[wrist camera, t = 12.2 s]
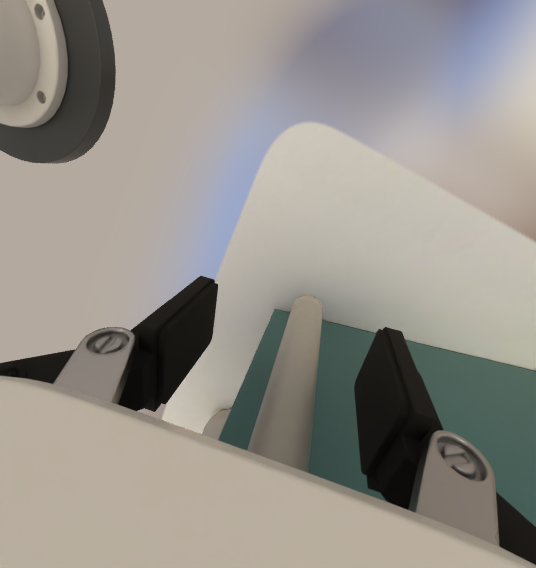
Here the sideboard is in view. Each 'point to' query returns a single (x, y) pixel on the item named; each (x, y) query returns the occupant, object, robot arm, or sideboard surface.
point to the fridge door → (342, 410)
